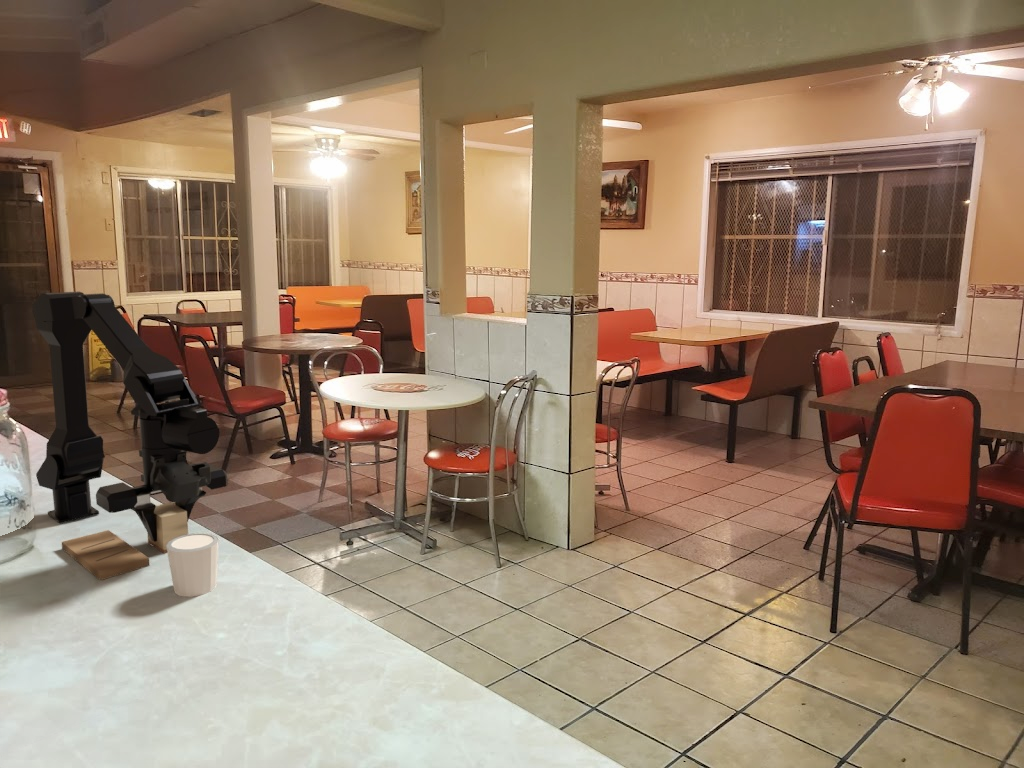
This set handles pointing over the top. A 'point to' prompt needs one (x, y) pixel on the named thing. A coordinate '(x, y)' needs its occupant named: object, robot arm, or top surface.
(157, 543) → the block
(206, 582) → the white cup
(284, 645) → the top surface
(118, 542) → the board
